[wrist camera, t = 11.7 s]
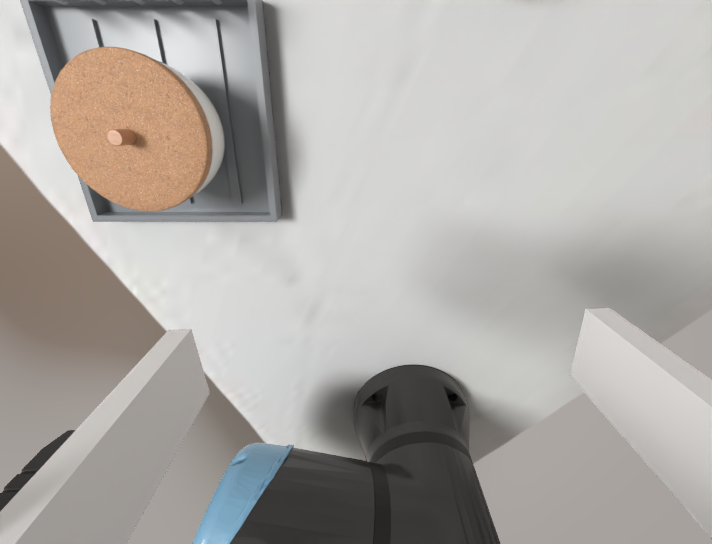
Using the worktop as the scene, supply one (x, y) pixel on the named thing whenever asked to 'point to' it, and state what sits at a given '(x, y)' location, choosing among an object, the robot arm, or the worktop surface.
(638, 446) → the robot arm
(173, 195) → the lidded jar
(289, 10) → the worktop surface
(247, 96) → the dish rack
